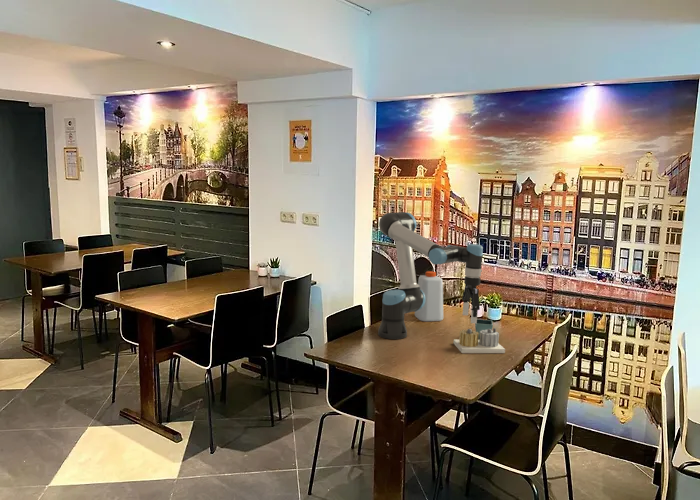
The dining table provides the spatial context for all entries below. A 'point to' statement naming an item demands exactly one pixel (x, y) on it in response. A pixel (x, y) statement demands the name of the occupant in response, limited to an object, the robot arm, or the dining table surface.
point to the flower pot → (483, 325)
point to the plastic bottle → (431, 297)
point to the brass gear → (468, 338)
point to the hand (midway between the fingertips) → (469, 319)
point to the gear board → (483, 343)
